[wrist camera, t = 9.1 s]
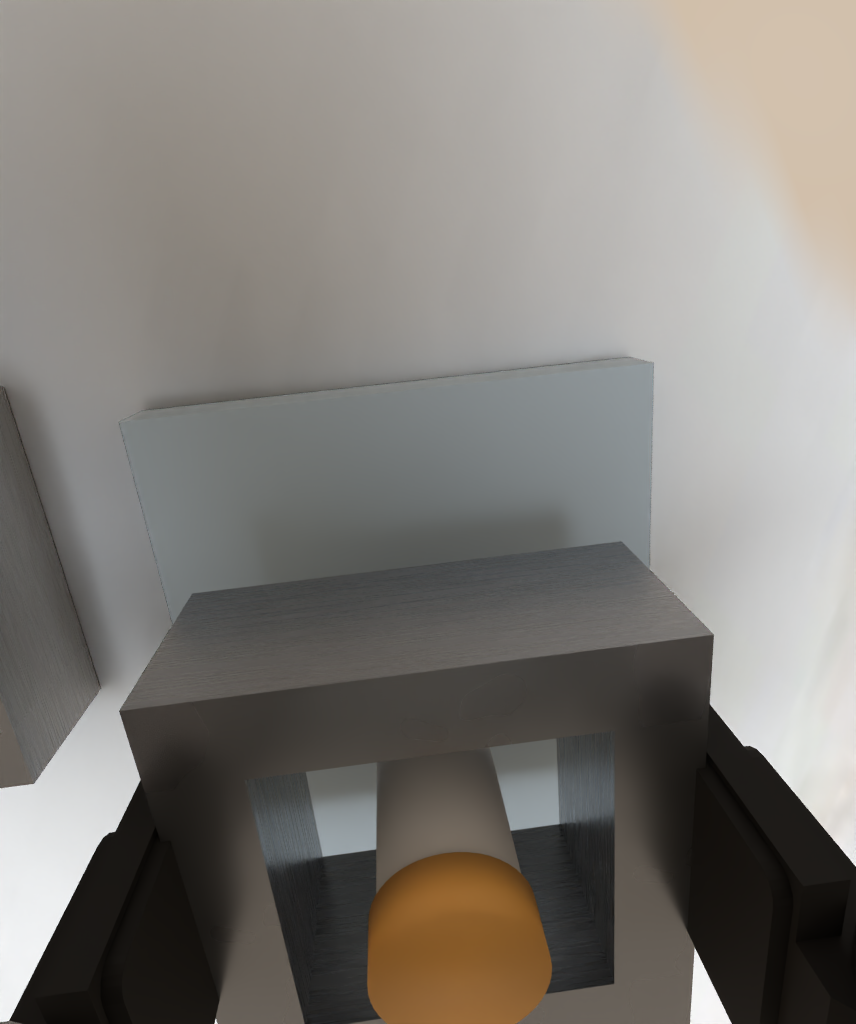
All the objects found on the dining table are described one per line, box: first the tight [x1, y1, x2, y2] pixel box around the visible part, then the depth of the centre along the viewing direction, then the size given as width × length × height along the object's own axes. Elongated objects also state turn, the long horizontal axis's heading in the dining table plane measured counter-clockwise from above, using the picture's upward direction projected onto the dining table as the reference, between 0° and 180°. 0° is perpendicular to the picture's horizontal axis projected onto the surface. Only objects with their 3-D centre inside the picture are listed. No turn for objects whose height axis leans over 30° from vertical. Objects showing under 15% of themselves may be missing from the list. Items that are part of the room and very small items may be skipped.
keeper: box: [119, 357, 654, 1024], centre depth 11 cm, size 12×10×8 cm
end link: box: [119, 541, 714, 1024], centre depth 10 cm, size 7×7×3 cm
